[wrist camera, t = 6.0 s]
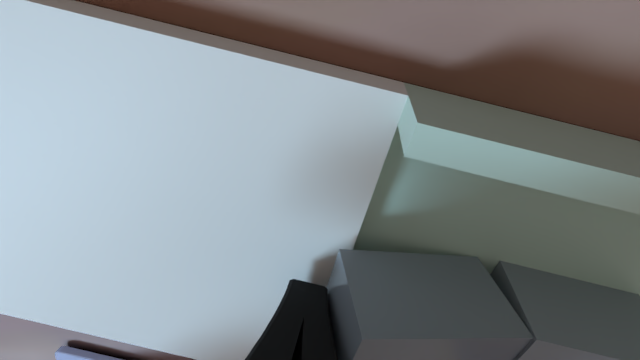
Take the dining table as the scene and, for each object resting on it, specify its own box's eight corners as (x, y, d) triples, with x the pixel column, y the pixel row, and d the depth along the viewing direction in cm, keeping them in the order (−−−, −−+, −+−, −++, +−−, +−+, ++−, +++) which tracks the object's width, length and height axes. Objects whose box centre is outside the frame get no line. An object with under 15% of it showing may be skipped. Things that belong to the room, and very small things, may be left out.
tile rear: (555, 371, 15) (596, 455, 12) (442, 343, 14) (458, 423, 12) (638, 294, 12) (713, 382, 9) (499, 260, 12) (536, 339, 9)
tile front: (423, 340, 14) (456, 420, 12) (308, 341, 13) (318, 431, 11) (477, 256, 12) (533, 338, 9) (339, 249, 11) (362, 339, 8)
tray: (612, 431, 17) (655, 512, 15) (307, 359, 17) (297, 428, 14) (936, 215, 10) (1138, 301, 7) (403, 82, 10) (417, 122, 7)
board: (307, 359, 17) (303, 384, 16) (-55, 274, 17) (-82, 294, 16) (403, 82, 10) (408, 95, 8) (-243, -79, 9) (-319, -86, 8)
